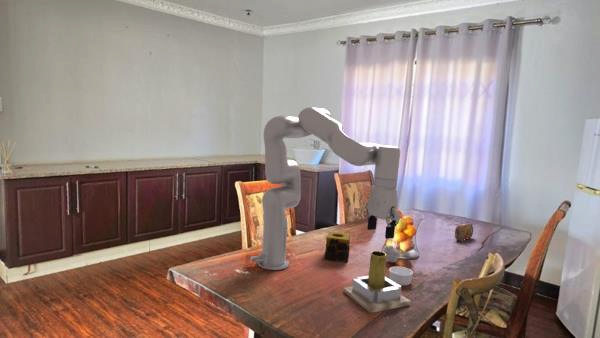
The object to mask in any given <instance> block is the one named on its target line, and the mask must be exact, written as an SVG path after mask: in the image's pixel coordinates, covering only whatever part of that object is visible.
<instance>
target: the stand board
mask: <svg viewBox="0 0 600 338" xmlns="http://www.w3.org/2000/svg"><path fill="white" fill-rule="evenodd" d="M352 288H353V285H352V286H345V287H343V289H342V290H343V291H342V292H343V293H344V294H345V295H347V296H348V297H349V298H350V299H352V300H353V301H355V303H357V304H358V305H359V306H361V307H362V308H363V309H364V310H366V311H367V312H368V313H369V314H372V313H377V312H382V311H386V310H392V309H393V310H394V309H397V308H402V307H409V306H411V300H410V299H408V298H407V297H405V296H403V295H402V294H401V298H398V300H396V301H391V302H385V303H380V304H376V303H371V304H370V303H369V302H367V301H366V300H365V299H363V298H362V297H361V296H359V295H358V294H357V293H355V292H354V291H353V290H352Z"/></svg>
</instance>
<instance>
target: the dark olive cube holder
mask: <svg viewBox="0 0 600 338" xmlns="http://www.w3.org/2000/svg"><path fill="white" fill-rule="evenodd" d="M350 236H351V233H347V232H338V231H327V235H326V237H325V241H326V242H325V250H324V258H323V259H324V260H328V261H333V262H334V261H336V262H343V263H348V262H349V256H350V241H351V240H350Z"/></svg>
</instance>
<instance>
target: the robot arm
mask: <svg viewBox="0 0 600 338" xmlns="http://www.w3.org/2000/svg"><path fill="white" fill-rule="evenodd" d="M343 130H344V127H343V125H342V123H340V122H339V121H337V120H336V119H334V118H333V117H332V115H331V113H330V112H329V111H328V110H327V109H325V108H322V107H313V106H311V107H309V106H308V107H305V108H303V109H302V110H301V111H300V112H299V114H298V116H292V115H291V116H290V115H278V116H275V117H272V118H270V119H269V120H268V121H267V122H266V124H265V125H264V129H263V143H264V163H265V164H264V165H265V166H264V167H265V168H264V170H265V171H264V173H265V174H264V175H265V179H266V181H267V182H268V183H269V184H271V185H281V186H277V187H276V186H275V187H272V188H270V189H268V190H266V191H265V192H264V193H263V195H262V199H261V205H262V210H263V211H262V212H263V225H262V226H263V227H262V228H263V229H262V230H263V233H262V251H261V252H259V254H257V256H255V255H254V256H253V255H252V256H250V259H249V260H250V262H255V264H256V263H257V265H258V266H259V267H260V268H261V269H265V270H268V271H279V270H281V271H282V270H284V269H287V268H289V266H290V261H289V260H288V259H286V256H287V237H288V217H287V215H286V213H285V212H286V210H290V209H293V208H295V207H297V206H298V205H299V204H300V201H301V195H302V191H301V190H302V183H301V179H302V178H301V177H302V175H301V168H300V166H299V164H298V163H297V162H296V161H295V160H293V159H289V158H288V156H287V155H288V154H287V152H288V151H287V146H286V144H285V141H284V139H301V138H305V137H309V136H311V135H313V136H315V137H317V138H318V139H319V140H321V142H324V143H326V144H327V145H328V147H329V149H330V150H331V151H332V152H333V153H334V154H335V155H336V156H338V157H339V158H340V159H341V160H343V161H345V162H347V163H348V164H350V165H353V166H355V167H363V166H372V165H374V177H373V185H371V189H370V193H369V197H368V202H366V203H365V207H366V213H367V218H368V219H367V220H368V221H367V228H366V229H367V230H368V231H373V230H374V231H375V230H376V229H377V221H378V220H377V219H380V220H384V221H385V222H386V226H385V233H384V239H386V240H387V239H394V237H395V231H396V227H397V225H399V223H400V220H401V219H402V215H401V214H400V212H398V190H397V186H398V185H397V184H398V178H399V167H400V161H401V160H400V159H401V158H400V157H401V149H400V147H398V146H395V145H394V146H393V145H385V144H384V145H382V144H377V143H374V142H358V141H356V140H355V139H353V138H352V137H349V136H348V135H347V134H345V133H344V131H343Z"/></svg>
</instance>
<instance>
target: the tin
mask: <svg viewBox="0 0 600 338" xmlns="http://www.w3.org/2000/svg"><path fill="white" fill-rule="evenodd" d="M473 232H474V227H473V224H472V223H466V222H465V223H462V224H459V225H457V226H456V227H455V230H454V238H455V240H456V241H458V242H459V241H460V242H463V241H462V240H464V239H467V238H470V239H471V238H472V237H473V235H474V234H473Z"/></svg>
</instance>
